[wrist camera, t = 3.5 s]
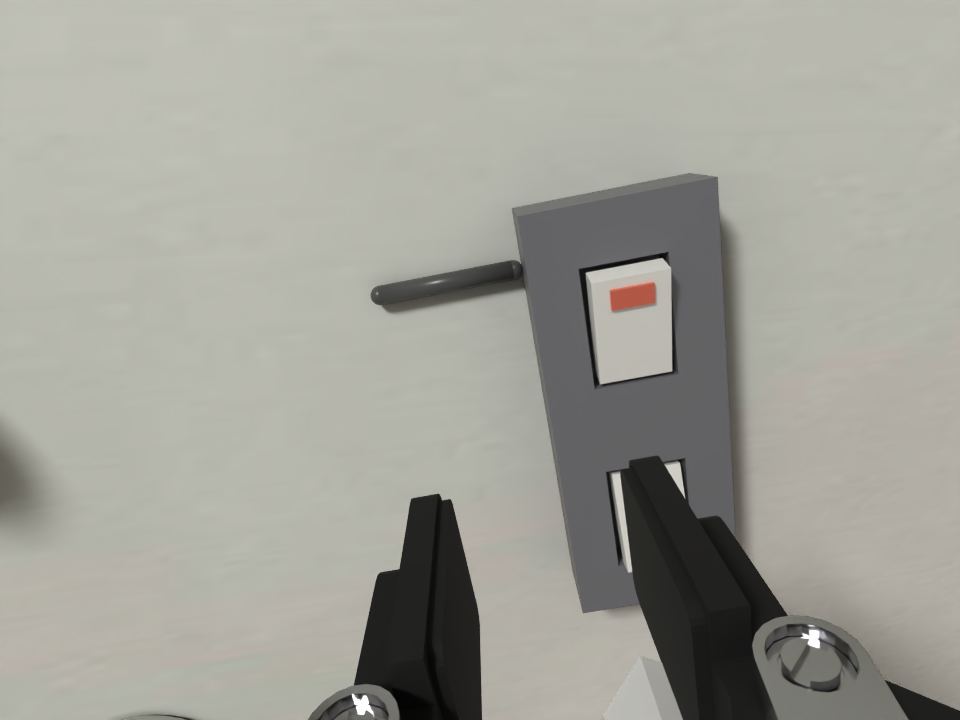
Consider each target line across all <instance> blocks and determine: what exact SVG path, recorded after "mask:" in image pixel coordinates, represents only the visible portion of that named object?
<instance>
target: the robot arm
mask: <svg viewBox="0 0 960 720" xmlns="http://www.w3.org/2000/svg"><path fill="white" fill-rule="evenodd" d="M620 478H621V486H622V494H623V502H624V510H625V517H626V525H627V533H628V541H629V549H630V557H631V565H632V573H633V581H634V586H635V590H636V594H637V597H638V600H639V603H640V606H641V608H642V611H643V614H644V616H645V619H646V622H647V624H648V627H649V630H650V632H651V635H652V638H653V640H654V643H655V646H656V649H657V651H658V654H659V657H660V659H661V662H662V665H663V667H664V670H665V673H666V675H667V678H668V681H669V683H670V686H671V689H672V691H673V694H674V697H675V699H676V702H677V705H678V708H679V710H680V713H681V716H682V718H683V720H960V711H958V710H956V709H954V708H951V707H949V706H946V705H944V704H942V703H939V702H937V701H934V700H932V699H929V698H927V697H925V696H922V695H920V694H917V693H915V692H913V691H910V690H908V689H905V688H903V687H900V686H898V685H896V684H893V683H891V682H888V681H886V680H884V679H883V677H882V675H881V674H880V672H879V670H878V669H877V667H876V666H875V664H874V662H873V661H872V659H871V657H870V656H869V654H868V653H867V651H866V650H865V649H864V648H863V646H862V645H861V644H860V643H859V642H858V640H857V639H855V638H854V637H853V636H851V635H850V634H849V633H847V632H846V631H845V630H843V629H842V628H840V627H838V626H835V625H833V624H831V623H829V622H827V621H824V620H820V619H817V618H813V617H809V616H793V615H789V616H788V615H787V614H786V612H785V611H784V609H783V608H782V606H781V605H780V603H779V602H778V600H777V599H776V598H775V596H774V595H773V593H772V592H771V590H770V589H769V587H768V586H767V584H766V583H765V581H764V580H763V578H762V577H761V575H760V574H759V572H758V571H757V569H756V568H755V566H754V565H753V564H752V562H751V561H750V559H749V558H748V556H747V555H746V553H745V552H744V550H743V549H742V547H741V546H740V544H739V543H738V541H737V540H736V538H735V537H734V535H733V534H732V533H731V531H730V530H729V528H728V527H727V525H726V524H725V522H724V521H723V520H722V519H721V517H719V516H717V515H716V516H710V517H704V518H698V519H697V517H696V515H695V514H694V512H693V511H692V509H691V507H690V506H689V504H688V502H687V501H686V499H685V497H684V496H683V494H682V493H681V491H680V489H679V488H678V486H677V484H676V483H675V481H674V479H673V478H672V476H671V475H670V473H669V471H668V470H667V468H666V466H665V465H664V463H663V461H662V460H661V458H660V457H659V456H657V455H656V456H651V457H645V458H639V459H634V460H630V461H629V468H626V469H621V470H620ZM123 720H186V719H182V718H177V717H170V716H157V715H146V716H137V717H130V718H126V719H123ZM308 720H482V702H481V659H480V622H479V614H478V608H477V603H476V599H475V595H474V591H473V586H472V582H471V578H470V574H469V570H468V566H467V562H466V558H465V553H464V549H463V545H462V541H461V537H460V533H459V529H458V525H457V520H456V516H455V512H454V508H453V504H452V501H451V499H448V500H443V501H442V499H441V496H440V495H439V494H434V495H428V496H423V497H417V498H412V499H411V502H410V508H409V514H408V520H407V526H406V532H405V539H404V545H403V551H402V557H401V563H400V569H398V570H392V571H386V572H381V573H379V574H378V576H377V579H376V583H375V588H374V592H373V597H372V602H371V607H370V611H369V616H368V621H367V626H366V630H365V635H364V640H363V645H362V649H361V654H360V659H359V663H358V668H357V673H356V678H355V682H354V686H351V687H348V688H346V689H343V690H341V691H338V692H336V693H335V694H333V695H332V696H331V697H329V698H328V699H326V700H325V701H323V702H322V703H321V704H320V705H319V706H318V708H317V709H316V710H315V711H314V712H313V713H312V714H311V716H310V717H309V719H308Z"/></svg>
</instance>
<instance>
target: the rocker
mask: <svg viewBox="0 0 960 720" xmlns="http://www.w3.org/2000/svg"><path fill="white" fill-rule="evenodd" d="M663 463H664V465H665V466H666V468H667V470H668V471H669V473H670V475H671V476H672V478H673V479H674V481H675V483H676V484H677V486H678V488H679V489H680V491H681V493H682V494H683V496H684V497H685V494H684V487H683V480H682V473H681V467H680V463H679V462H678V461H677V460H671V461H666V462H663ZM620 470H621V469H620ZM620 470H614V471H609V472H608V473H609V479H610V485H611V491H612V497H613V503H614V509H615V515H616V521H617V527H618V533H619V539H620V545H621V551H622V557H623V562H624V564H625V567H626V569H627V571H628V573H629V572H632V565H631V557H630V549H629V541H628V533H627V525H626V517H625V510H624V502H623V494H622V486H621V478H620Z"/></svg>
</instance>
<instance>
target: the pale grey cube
mask: <svg viewBox="0 0 960 720" xmlns="http://www.w3.org/2000/svg"><path fill="white" fill-rule="evenodd" d="M603 720H683V718H682V716H681V713H680V710H679V708H678V705H677V702H676V699H675V697H674V694H673V691H672V689H671V686H670V683H669V681H668V678H667V675H666V673H665V670H664V667H663V665H662V662H660V661H656V660H653V659H650V658H646V657H643V656H640V657H639V658H638V660H637V662H636V663H635V665H634V667H633V668H632V670H631V671H630V673H629V675H628V676H627V678H626V679H625V681H624V683H623V684H622V686H621V687H620V689H619V691H618V692H617V694H616V695H615V697H614V699H613V700H612V702H611V704H610V705H609V707H608V708H607V710H606V712H605V713H604V715H603Z"/></svg>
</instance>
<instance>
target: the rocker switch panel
mask: <svg viewBox="0 0 960 720" xmlns="http://www.w3.org/2000/svg"><path fill="white" fill-rule="evenodd" d="M512 212H513V218H514V224H515V230H516V236H517V242H518V248H519V254H520V260H521V264H520V263H519V262H518V261H515V260H511V261H505V262H500V263H495V264H490V265H485V266H480V267H474V268H469V269H464V270H459V271H454V272H448V273H443V274H438V275H433V276H428V277H423V278H417V279H412V280H407V281H402V282H397V283H392V284H386V285H381V286H377V287H375V288H374V289H373V290H372V292H371V299H372V301H373V302H374V303H375V304H377V305H385V304H390V303H395V302H401V301H406V300H411V299H416V298H422V297H427V296H432V295H437V294H442V293H448V292H453V291H458V290H463V289H468V288H474V287H479V286H484V285H489V284H495V283H500V282H505V281H510V280H515V279H518V278H519V277H520V276H521V274H522V271H523V277H524V283H525V289H526V295H527V301H528V307H529V313H530V319H531V325H532V331H533V337H534V343H535V349H536V355H537V361H538V367H539V373H540V379H541V385H542V391H543V397H544V403H545V409H546V414H547V420H548V426H549V432H550V438H551V444H552V450H553V456H554V462H555V468H556V474H557V480H558V486H559V492H560V498H561V504H562V510H563V516H564V522H565V528H566V534H567V540H568V546H569V552H570V557H571V563H572V569H573V574H574V578H575V583H576V587H577V591H578V595H579V599H580V603H581V607H582V611H583V613H587V612H593V611H600V610H606V609H612V608H618V607H624V606H630V605H636V604H640V603H639V600H638V597H637V594H636V590H635V586H634V581H633V573H632V572H629V573H628V571H627V569H626V567H625V564H624V562H623V557H622V551H621V545H620V539H619V533H618V527H617V521H616V515H615V509H614V503H613V497H612V491H611V485H610V479H609V473H608V472H609V471H614V470H620V469H626V468H629V461H630V460H634V459H639V458H645V457H651V456H656V455H657V456H659V457H660V458H661V460H662V461H663V462H666V461H671V460H677V461H678V462H679V463H680V467H681V473H682V480H683V487H684V494H685V499H686V501H687V502H688V504H689V506H690V507H691V509H692V511H693V512H694V514H695V515H696V517H697V519H698V518H704V517H710V516H716V515H717V516H719V517H721V519H722V520H723V521H724V522H725V524H726V525H727V527H728V528H729V530H730V531H731V533H732V534H733V535H734V537H735V517H734V497H733V477H732V457H731V437H730V417H729V397H728V377H727V356H726V336H725V316H724V296H723V276H722V256H721V236H720V216H719V196H718V177H714V176H707V175H699V174H692V173H689V174H684V175H678V176H673V177H668V178H663V179H658V180H653V181H648V182H643V183H638V184H633V185H628V186H623V187H618V188H613V189H608V190H603V191H597V192H592V193H587V194H582V195H577V196H572V197H567V198H562V199H557V200H552V201H547V202H542V203H537V204H532V205H527V206H522V207H517V208H512ZM660 258H663V259H664V260H665V261H666V263H667V264H668V265H669V266H670V267H671V301H672V371H671V372H665V373H660V374H654V375H649V376H643V377H638V378H632V379H627V380H622V381H616V382H611V383H605V384H600V383H599V380H598V378H597V375H596V373H595V367H594V357H593V346H592V336H591V325H590V314H589V304H588V293H587V283H586V273H587V272H592V271H597V270H602V269H608V268H613V267H618V266H623V265H629V264H634V263H639V262H644V261H650V260H655V259H660ZM735 538H736V537H735Z"/></svg>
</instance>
